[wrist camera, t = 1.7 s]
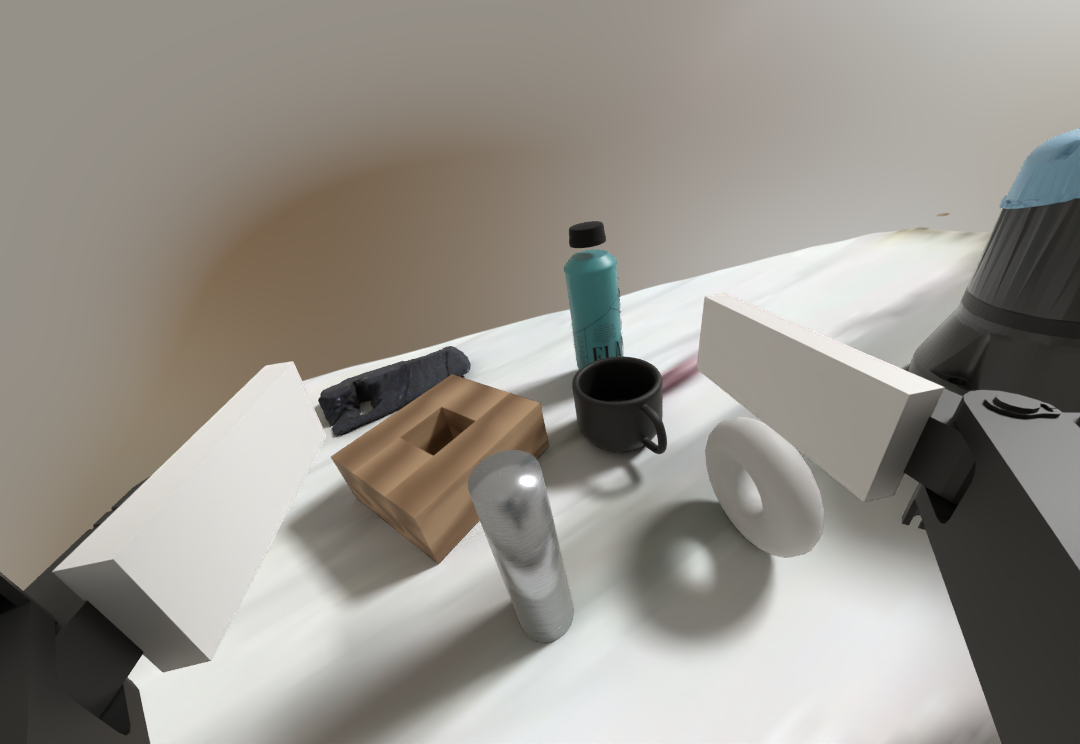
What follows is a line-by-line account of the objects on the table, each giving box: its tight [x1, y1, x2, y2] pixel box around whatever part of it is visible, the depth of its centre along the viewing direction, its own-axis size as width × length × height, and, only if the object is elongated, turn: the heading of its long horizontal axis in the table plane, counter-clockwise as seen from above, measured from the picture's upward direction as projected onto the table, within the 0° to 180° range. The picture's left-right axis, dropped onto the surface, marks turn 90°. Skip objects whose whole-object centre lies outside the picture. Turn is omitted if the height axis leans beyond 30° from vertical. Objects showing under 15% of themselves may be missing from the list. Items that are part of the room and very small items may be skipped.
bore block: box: [331, 374, 549, 564], centre depth 40 cm, size 14×16×6 cm
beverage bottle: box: [564, 221, 624, 370], centre depth 47 cm, size 6×7×20 cm
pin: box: [468, 450, 574, 642], centre depth 24 cm, size 4×4×14 cm
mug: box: [572, 357, 667, 454], centre depth 39 cm, size 12×9×7 cm
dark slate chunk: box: [318, 346, 470, 435], centre depth 58 cm, size 15×22×5 cm
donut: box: [705, 417, 824, 558], centre depth 28 cm, size 10×4×10 cm, turn 12°
